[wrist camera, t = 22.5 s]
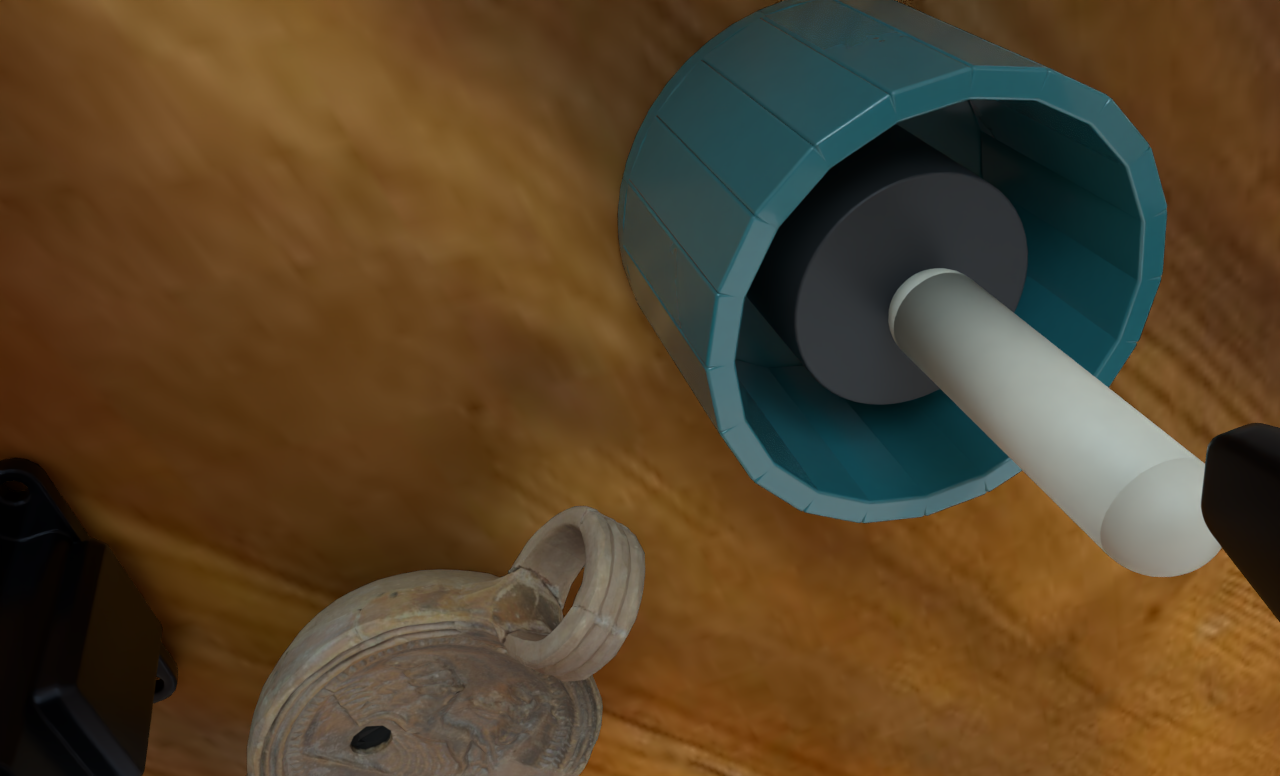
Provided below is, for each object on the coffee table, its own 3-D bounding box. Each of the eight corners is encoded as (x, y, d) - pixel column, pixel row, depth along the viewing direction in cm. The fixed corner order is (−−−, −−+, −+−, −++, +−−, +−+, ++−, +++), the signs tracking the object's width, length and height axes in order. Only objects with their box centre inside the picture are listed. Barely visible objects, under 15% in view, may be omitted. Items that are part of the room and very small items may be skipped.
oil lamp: (395, 859, 29) (416, 1047, 25) (122, 790, 25) (92, 999, 21) (708, 510, 26) (791, 658, 22) (451, 368, 22) (491, 516, 18)
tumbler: (662, 422, 24) (751, 582, 19) (572, 64, 19) (662, 165, 15) (993, 305, 25) (1152, 432, 20) (983, -62, 20) (1186, -2, 16)
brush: (857, 328, 23) (1218, 701, 14) (681, 281, 22) (969, 675, 13) (953, 139, 22) (1433, 429, 13) (771, 71, 20) (1181, 354, 11)
